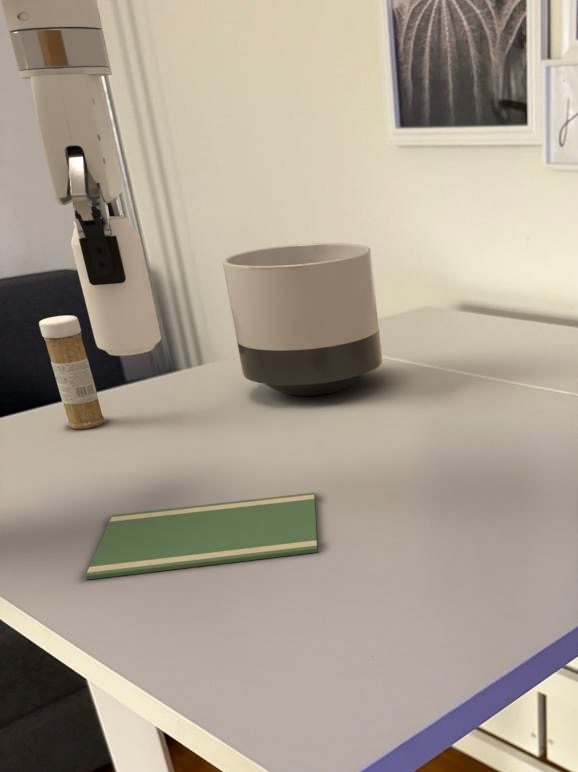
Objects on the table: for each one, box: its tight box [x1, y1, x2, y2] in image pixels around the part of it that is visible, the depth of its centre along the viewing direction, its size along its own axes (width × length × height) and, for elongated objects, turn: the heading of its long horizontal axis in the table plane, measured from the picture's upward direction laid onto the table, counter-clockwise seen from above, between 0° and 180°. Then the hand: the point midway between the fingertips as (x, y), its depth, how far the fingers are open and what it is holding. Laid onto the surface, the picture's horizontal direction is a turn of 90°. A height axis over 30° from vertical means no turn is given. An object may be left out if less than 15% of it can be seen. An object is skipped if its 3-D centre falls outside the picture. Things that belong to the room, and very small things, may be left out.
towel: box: [85, 492, 319, 580], centre depth 88 cm, size 20×14×1 cm
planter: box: [222, 242, 383, 397], centre depth 127 cm, size 19×19×18 cm
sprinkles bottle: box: [38, 315, 105, 430], centre depth 118 cm, size 5×5×14 cm
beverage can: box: [70, 215, 162, 357], centre depth 90 cm, size 6×6×12 cm
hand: (113, 275), depth 89 cm, fingers closed on beverage can, 6 cm apart
